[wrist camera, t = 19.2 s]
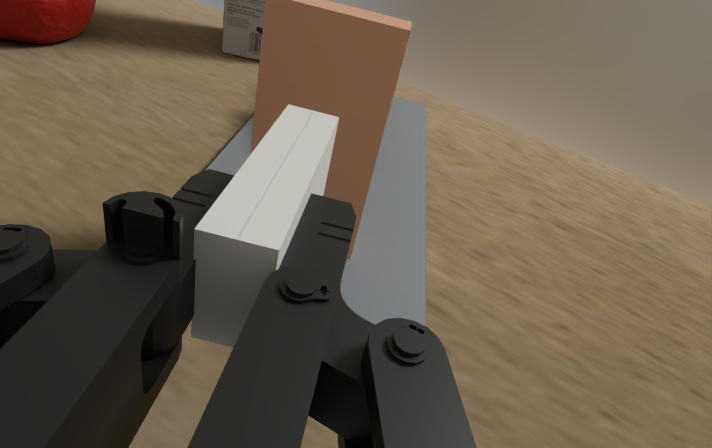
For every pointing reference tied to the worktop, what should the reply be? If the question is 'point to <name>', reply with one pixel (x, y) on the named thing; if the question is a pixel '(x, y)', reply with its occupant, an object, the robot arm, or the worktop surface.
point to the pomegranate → (44, 19)
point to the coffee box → (243, 27)
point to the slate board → (380, 219)
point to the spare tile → (332, 82)
